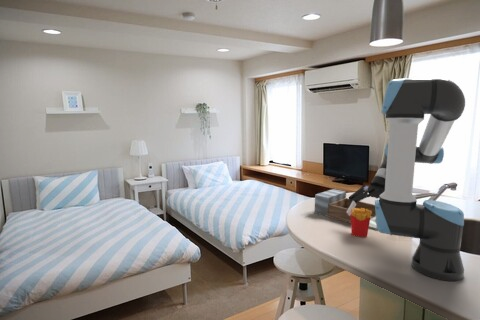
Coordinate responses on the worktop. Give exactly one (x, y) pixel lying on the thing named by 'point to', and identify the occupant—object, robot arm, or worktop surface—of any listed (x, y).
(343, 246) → the worktop surface
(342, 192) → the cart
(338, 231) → the worktop surface
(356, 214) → the french fries
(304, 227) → the worktop surface
